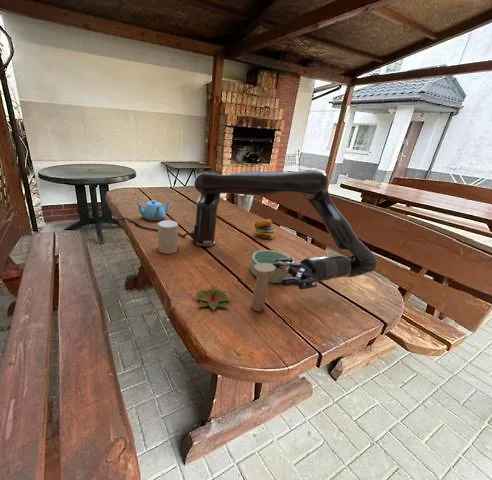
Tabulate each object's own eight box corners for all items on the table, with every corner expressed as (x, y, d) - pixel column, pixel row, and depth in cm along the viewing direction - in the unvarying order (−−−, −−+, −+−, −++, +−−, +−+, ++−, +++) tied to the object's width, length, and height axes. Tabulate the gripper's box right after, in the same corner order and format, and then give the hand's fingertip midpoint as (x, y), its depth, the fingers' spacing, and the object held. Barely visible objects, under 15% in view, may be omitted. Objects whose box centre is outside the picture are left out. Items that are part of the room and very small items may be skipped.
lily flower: (229, 290, 89) (230, 278, 88) (233, 313, 79) (234, 301, 77) (194, 288, 89) (194, 277, 87) (193, 312, 78) (193, 299, 76)
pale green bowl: (249, 280, 96) (251, 265, 94) (250, 260, 110) (252, 247, 108) (292, 286, 94) (296, 272, 92) (288, 266, 108) (291, 253, 106)
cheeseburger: (267, 241, 130) (266, 221, 127) (250, 239, 138) (249, 220, 135) (279, 236, 136) (278, 217, 133) (262, 234, 144) (261, 216, 141)
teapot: (150, 212, 159) (149, 195, 154) (172, 216, 154) (172, 199, 150) (135, 219, 146) (135, 201, 142) (159, 224, 141) (159, 206, 137)
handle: (270, 311, 81) (279, 269, 75) (252, 315, 78) (260, 272, 72) (261, 302, 85) (269, 261, 79) (244, 306, 82) (251, 264, 76)
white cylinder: (162, 254, 110) (161, 228, 105) (156, 246, 116) (155, 221, 111) (180, 251, 113) (180, 226, 108) (173, 244, 120) (173, 219, 115)
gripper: (307, 248, 87) (264, 252, 82) (338, 270, 75) (290, 276, 70) (302, 268, 90) (260, 273, 85) (332, 292, 78) (285, 299, 73)
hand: (274, 274), depth 78 cm, fingers open, 8 cm apart
